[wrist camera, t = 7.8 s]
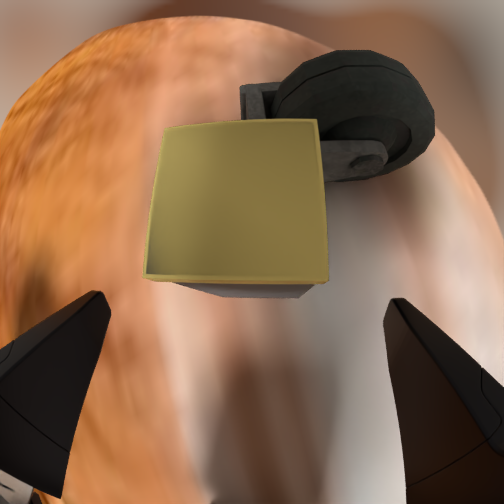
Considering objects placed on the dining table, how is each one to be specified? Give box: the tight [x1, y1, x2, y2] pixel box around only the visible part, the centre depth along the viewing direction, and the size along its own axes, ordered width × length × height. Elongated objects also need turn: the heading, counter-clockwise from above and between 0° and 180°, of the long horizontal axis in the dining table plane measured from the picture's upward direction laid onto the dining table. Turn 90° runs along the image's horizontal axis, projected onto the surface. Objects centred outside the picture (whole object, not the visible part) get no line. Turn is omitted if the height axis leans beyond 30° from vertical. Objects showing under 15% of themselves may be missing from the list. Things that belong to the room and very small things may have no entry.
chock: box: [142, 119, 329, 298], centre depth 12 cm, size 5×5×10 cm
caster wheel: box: [240, 50, 435, 182], centre depth 14 cm, size 6×10×15 cm
